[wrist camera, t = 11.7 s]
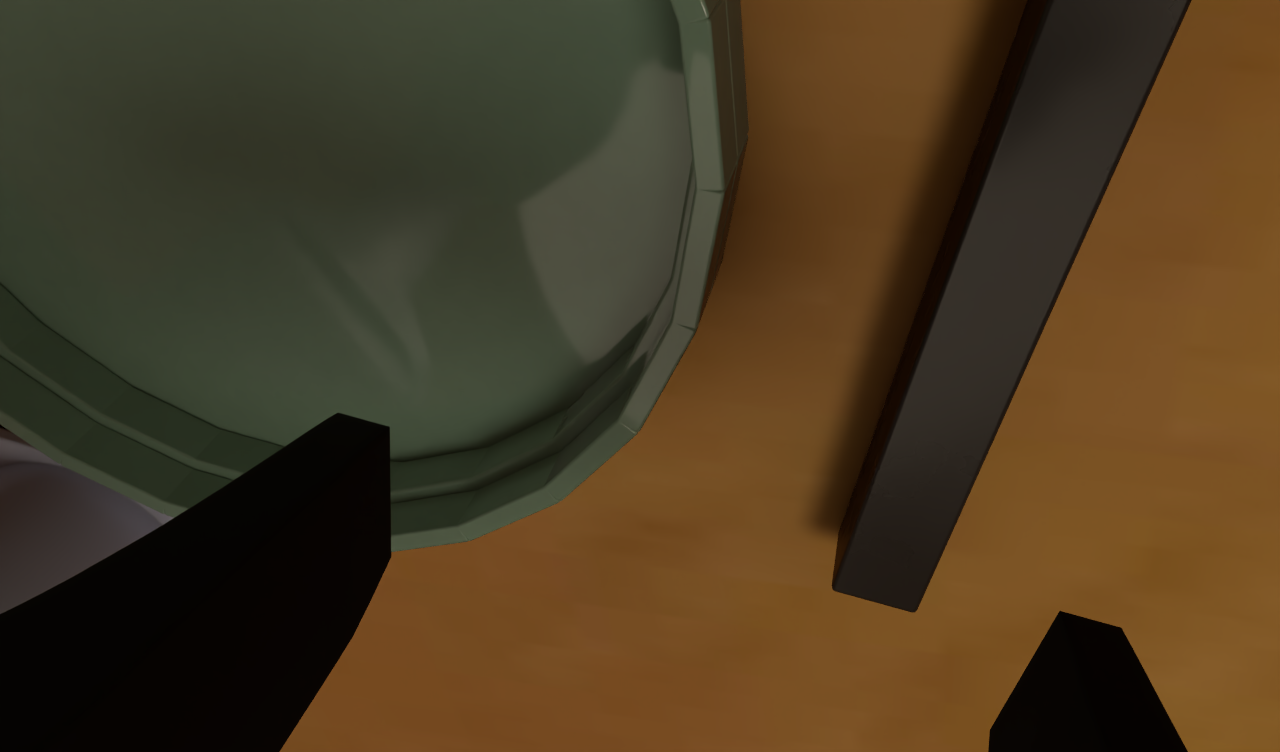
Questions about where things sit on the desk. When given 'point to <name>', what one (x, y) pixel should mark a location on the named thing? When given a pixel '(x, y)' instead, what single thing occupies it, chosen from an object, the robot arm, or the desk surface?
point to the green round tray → (359, 235)
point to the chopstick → (998, 277)
